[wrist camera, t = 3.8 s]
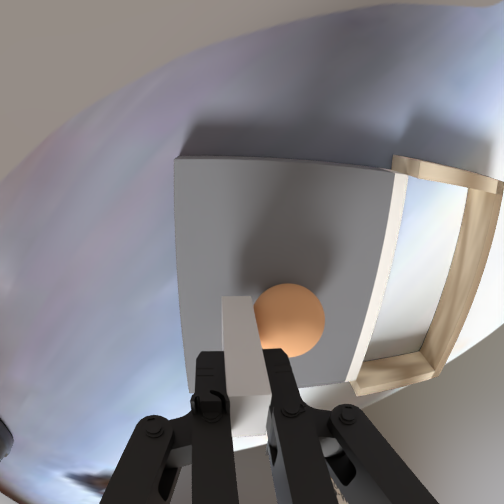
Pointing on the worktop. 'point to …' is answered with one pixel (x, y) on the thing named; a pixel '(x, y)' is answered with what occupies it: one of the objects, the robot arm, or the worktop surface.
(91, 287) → the worktop surface
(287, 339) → the ball
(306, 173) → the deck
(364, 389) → the wooden tray frame
